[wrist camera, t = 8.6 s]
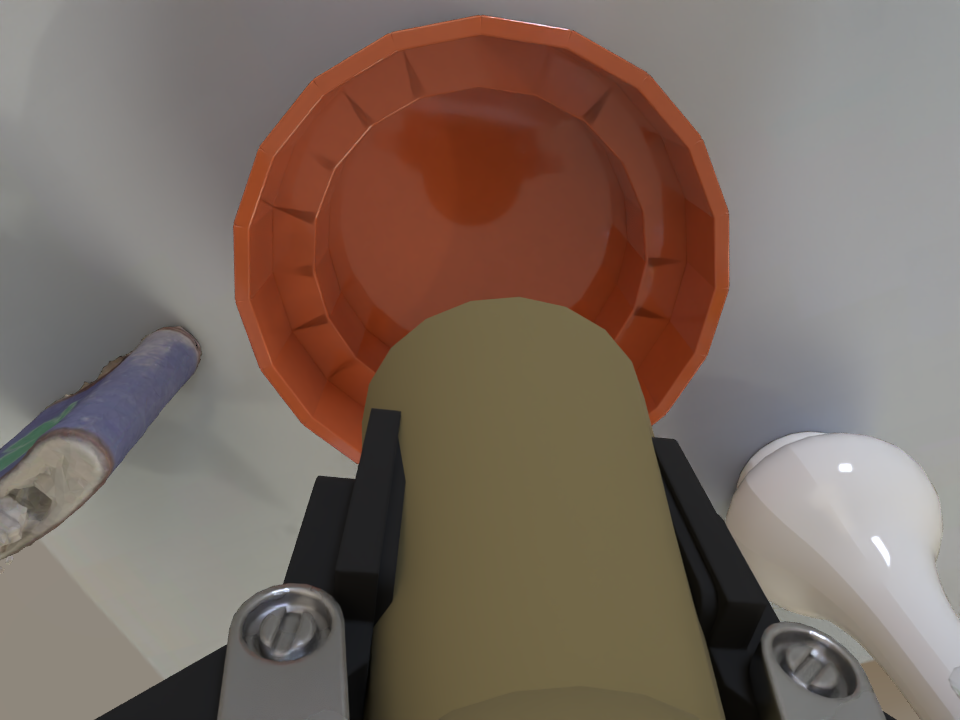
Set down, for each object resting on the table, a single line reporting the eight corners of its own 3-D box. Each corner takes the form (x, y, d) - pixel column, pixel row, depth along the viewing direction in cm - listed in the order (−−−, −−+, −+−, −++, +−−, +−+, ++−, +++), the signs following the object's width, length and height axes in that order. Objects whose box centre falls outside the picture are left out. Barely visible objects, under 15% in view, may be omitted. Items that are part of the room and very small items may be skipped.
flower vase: (854, 259, 28) (2414, 1130, 6) (955, 539, 35) (1816, 1406, 13) (586, 400, 31) (932, 1371, 8) (730, 633, 38) (1122, 1488, 16)
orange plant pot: (284, -11, 23) (226, -27, 17) (719, 59, 24) (802, 67, 19) (280, 386, 30) (238, 471, 24) (619, 422, 31) (657, 510, 26)
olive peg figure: (407, 561, 16) (327, 1473, 6) (321, 336, 13) (-112, 1315, 3) (660, 508, 15) (1049, 1399, 5) (625, 264, 12) (1278, 1136, 3)
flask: (175, 312, 28) (30, 456, 19) (223, 363, 29) (110, 523, 20) (27, 415, 30) (-172, 593, 21) (78, 459, 31) (-89, 647, 22)
